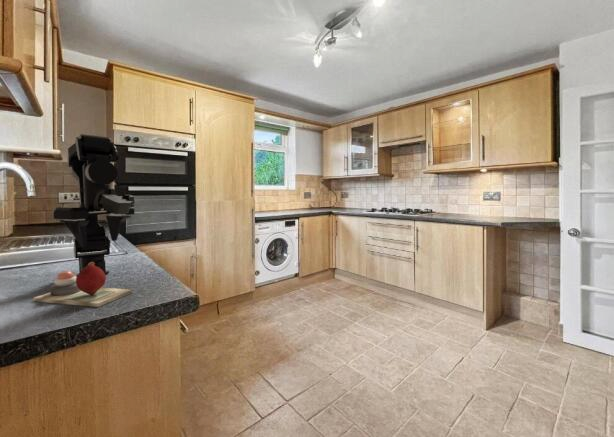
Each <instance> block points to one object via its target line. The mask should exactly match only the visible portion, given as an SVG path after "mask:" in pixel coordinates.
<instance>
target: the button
mask: <svg viewBox="0 0 614 437" xmlns="http://www.w3.org/2000/svg"><path fill="white" fill-rule="evenodd" d="M76 278H77V277H76V276H75V273H74V272H72V271H70V270H62V271H61V272H59V273H58V274H57V276H56V277H55V278H54V284H55V286H58V287H60V286H69V285H73V284H76Z"/></svg>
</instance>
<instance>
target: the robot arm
mask: <svg viewBox="0 0 614 437" xmlns="http://www.w3.org/2000/svg"><path fill="white" fill-rule="evenodd" d="M118 160H119V153H118V150H117V146H115V143H114V142H113V141H111V138H110V137H109V136H102V135H101V136H100V135H94V134H92V135H91V134H85V133H84V134H83V133H81V134H79V135H78V136H76V137H75V142H74V143H73V144H72V145H70V146H69V147H68V148H67V168H70V173H71V175H72V177H73V178H74V179H76V181H77V185H78V197H79V198H78V199H79V206H57V207H56V208H55V209H54V210H53V212H52V213H53V219H54V220H59V222H60V223H63V224H64V225H65V226H66V227H67V229H68V230H69V231H70V232H71V234H72V236H74V239H73V257H74V258H75V259H78V269H79V270H78V271H79V272H80V271H81V270H82V269H83V268H85V267H86V266H87V265H88V264H89V263H90V262H94V263H95V264H94V265H95V266H97V267H99V268H100V269H102V270H103V272H104V273H105V275H107V274H109V273H110V271H109V270H107V269H106V260H105V256H109V255H110V254H111V243H112V242H117V240H118V237H119V234H120V232H121V229H122V226H123V224H124V222H125V221H127V220H128V219H129V218H131V217H132V216H131V215H135V208H134V207H135V196H133V195H132V194H124V195H123V196H119V195H117V193H116V190H115V188H111V184H112V183H113V182H115V181H116V179H117V177H118V170H117V168H116V167H115V165H114V164H115V163H117V161H118ZM98 215H105V218H106V222H107V227H108V230H109V236H110V238H111V239H110V238H109V236H108V235H107V234H106V228H105V227H104V226H103V225H101V224H100V223H99V218H98ZM111 241H112V242H111ZM79 272H78V274H79ZM78 274H74V276H76V278H77V275H78Z"/></svg>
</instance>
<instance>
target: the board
mask: <svg viewBox="0 0 614 437" xmlns="http://www.w3.org/2000/svg"><path fill="white" fill-rule="evenodd" d="M49 288H50V289H49V292H47V293H45V294H41V295H37V296H34V297H33V298H32V299H33V300H32V301H33V302H38V303H41V302H42V303H51V304H60V305H71V306H72V305H74V306H82V307H83V306H84V307H92V308H93V307H95V308H99V307H101V306H103V305H106V304H109V303H110V302H113V301H115V300H119V299H120V298H123V297H125V296H128V295H130V294H132V293H133V289H126V288H116V287H115V288H113V287H103V286H102V287H101V288H100V289H99V290H98V291H97V292H96V293H95V294H93V295H90V294H87V293H85V292H83V291H81V290H80V289H79V288H78V287H77V285H76V284H73V285H69V286H60V287H58V286H55V283H54V284H51V285H50V286H49Z"/></svg>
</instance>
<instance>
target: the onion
mask: <svg viewBox="0 0 614 437" xmlns="http://www.w3.org/2000/svg"><path fill="white" fill-rule="evenodd" d="M94 264H95V263H94V262H90V263H89V264H88V265H87V266H86V267H85V268H83V269H82V270H81V271H80V272H78V275H77V274H76V275H77V277H76V285H77V287H78V288H79V289H80V290H81V291H83V292H85V293H87V294H90V295H93V294H95V293H96V292H97V291H98V290H99V289H100V288H101V287H102V288H103V287H104V286H105V285H106V282H107V281H106V279H107V276H106V274H105V273H104V272H103V270H102V269H100V268H99V267H97V266H95V265H94Z"/></svg>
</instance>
